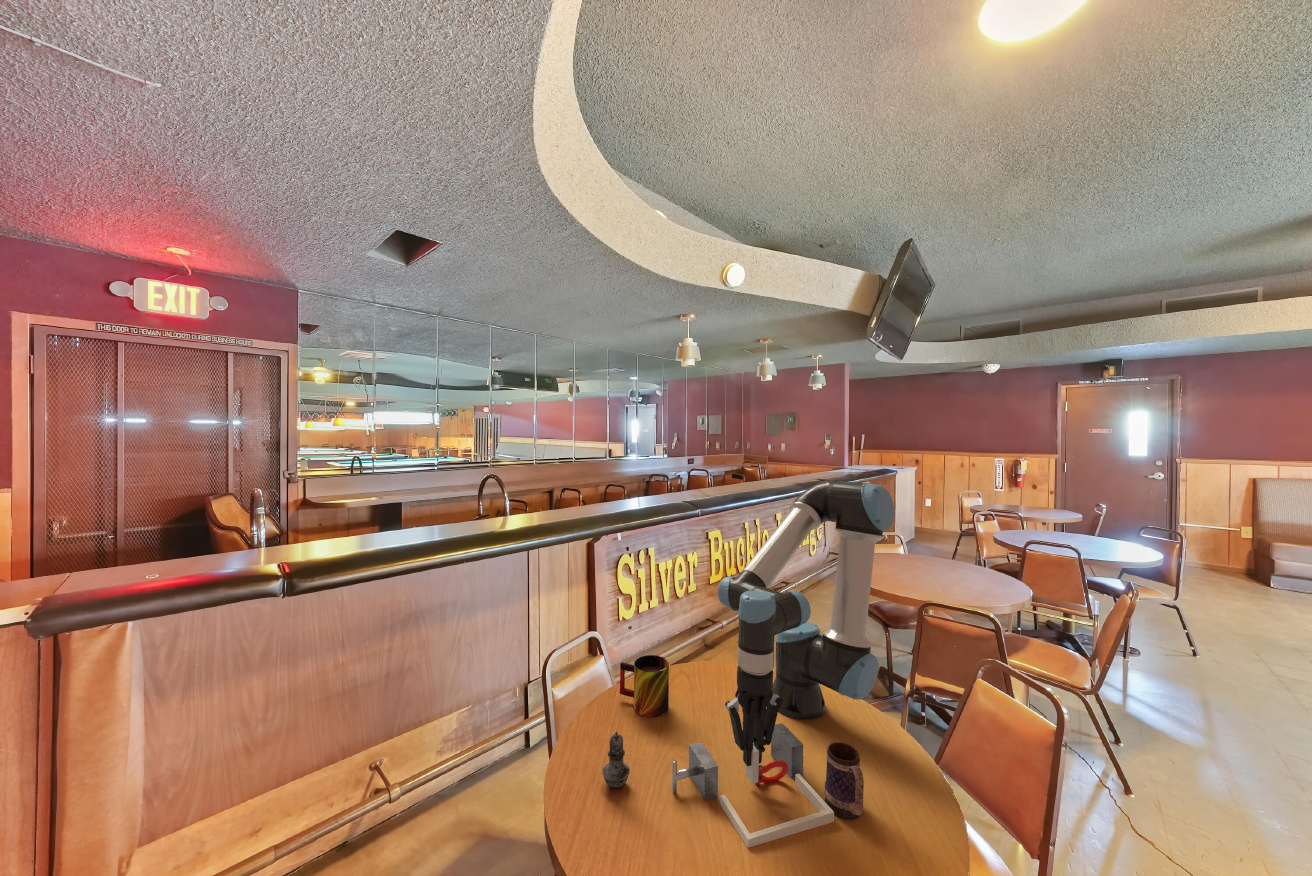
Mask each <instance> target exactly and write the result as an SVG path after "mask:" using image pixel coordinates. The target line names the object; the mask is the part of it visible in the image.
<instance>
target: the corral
mask: <svg viewBox="0 0 1312 876" xmlns="http://www.w3.org/2000/svg"><path fill="white" fill-rule="evenodd" d="M794 780H795V781H794V783H795V786H796V788H797V789H798V790H799V791H800V792H801V793H802V794H803V795H804V796H805V798H806V799H807V800H808V801H809V802H810V803H811V804H812V805H813V807H815V808H816V810H817V812H814V813H811V814H810V813H809V814H808V815H805V816H802V817H798V818H794V819H791V820H788V821H786V822H782V823H779V824H776V825H773V826H770V827H767V828H764V829H760V830H756V831H754V832H749V830H748V829H747V827H746V825H745V823H744V822H743V821H742V819H741V818H740V816H739V814H738V813H737V811H736V809H735V808H734V807H733V804H732V803H731V802H730V800H729V798H728V797H727V796H726V794H720V795H719V805H720V807H721V808H722V810H723V812H724V814H725V815H726V816H727V818H728V819H729V821H730V822H731V824H732V826H734V829H735V830H736V831H737V833H738V835H739V836H740V838H741V839H742V841H743V842H744V844H745V845H746V847H747V848H752V847H755V846H757V845H761V844H766V843H768V842H772V841H775V840H778V839H781V838H785V837H787V836H791V835H794V834H798V833H801V832H804V831H808V830H811V829H814V828H817V827H822V826H825V825H828V824H831V823H834V822H835V815H834V811H833V810H832V809H831V808H830V807H829V806H828V805H827V804H826V803H825V799H823V798H822V797H821V795H819V793H817V791H816V790H815V789H814V788H813V787H812V786H811V785H810V784H809V782H807V781H806V779H805V778H804V777H803V775H802V776H801V775H800V774H796V775H795V777H794Z"/></svg>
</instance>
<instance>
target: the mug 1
mask: <svg viewBox="0 0 1312 876" xmlns="http://www.w3.org/2000/svg"><path fill="white" fill-rule="evenodd" d="M633 663H634V664H631V663H628V662H627V663H626V662H623V661H621V662H620V665H619V667H620V668H619V695H622V696H626V697H629V698H633V709H634V711H635V712H636V713H637V714H639V715H640V716H642V717H647V718H654V717H655V718H656V717H659V716H663V715H664V714H665V713H667V712H668V710H669V701H670V700H669V698H670V697H669V695H670V693H669V691H670V681H669V680H670V678H669V677H670V663H669V660H668V659H666V658H665V657H664V656H660V655H654V654H648V655H643V656H640V657H638V658H636V659H635V660H634V662H633ZM625 671H626V672H629V673H633V690H632V689H630V688H626V687H625V686H626V685H625V684H626V683H625V681H626V679H625V677H626V672H625Z"/></svg>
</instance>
